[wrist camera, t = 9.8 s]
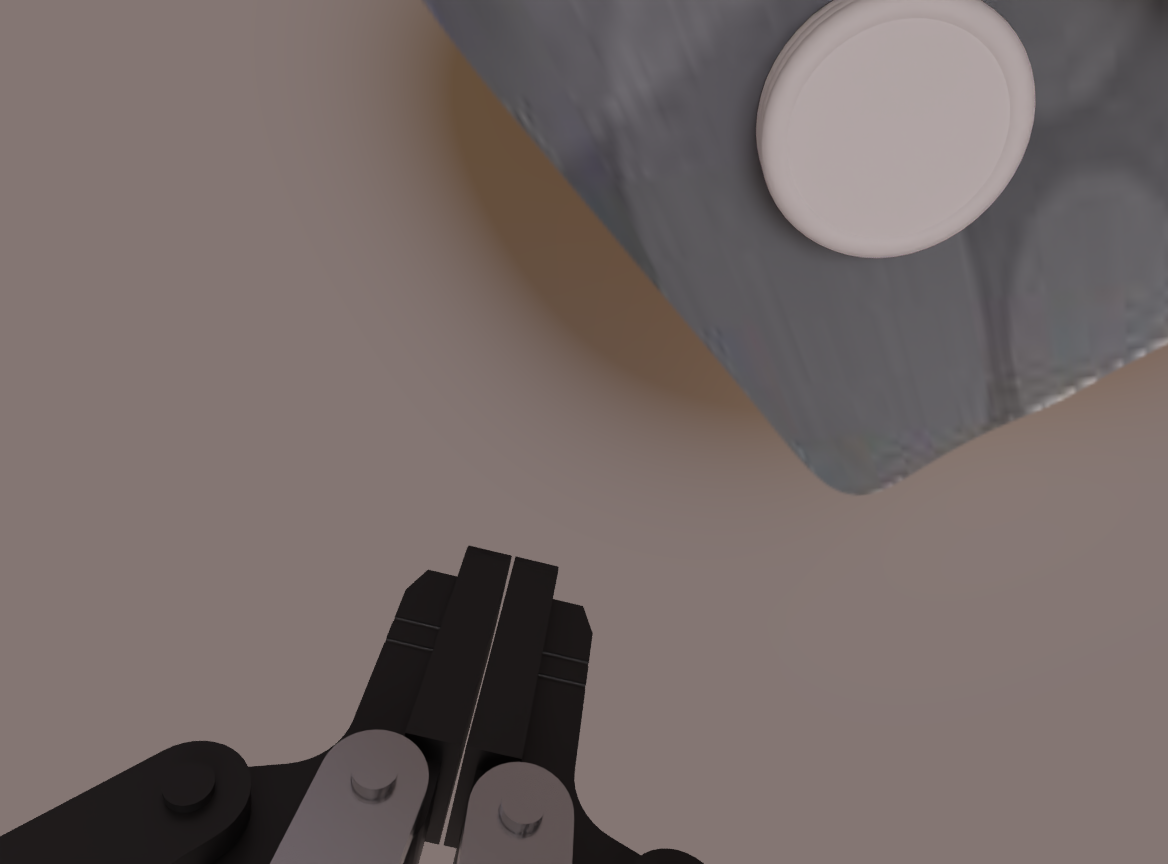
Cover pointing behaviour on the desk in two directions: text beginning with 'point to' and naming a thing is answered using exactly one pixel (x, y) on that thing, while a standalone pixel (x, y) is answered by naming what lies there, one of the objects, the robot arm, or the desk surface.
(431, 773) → the robot arm
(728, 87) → the desk surface
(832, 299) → the desk surface
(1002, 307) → the desk surface
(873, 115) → the white round container
